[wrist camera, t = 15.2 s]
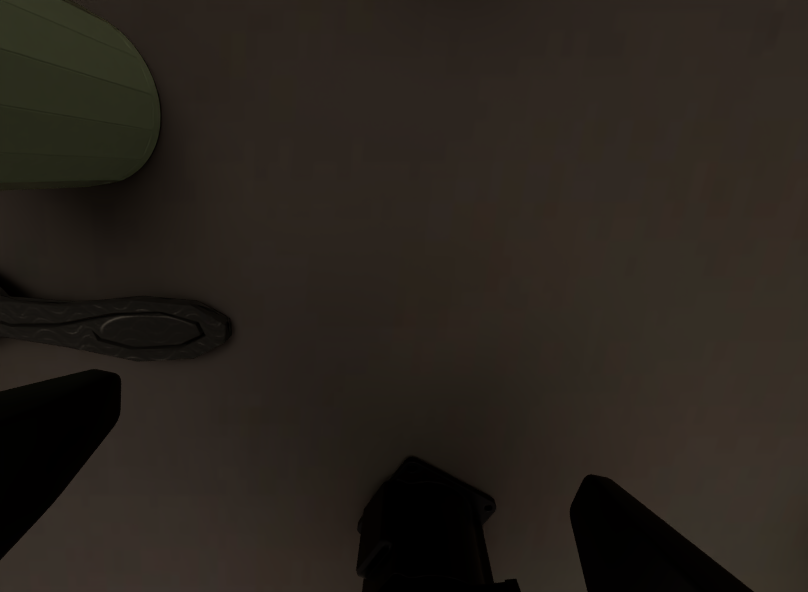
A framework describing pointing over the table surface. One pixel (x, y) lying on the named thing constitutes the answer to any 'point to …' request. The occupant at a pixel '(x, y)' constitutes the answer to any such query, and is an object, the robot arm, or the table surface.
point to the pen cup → (71, 98)
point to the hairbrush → (117, 325)
